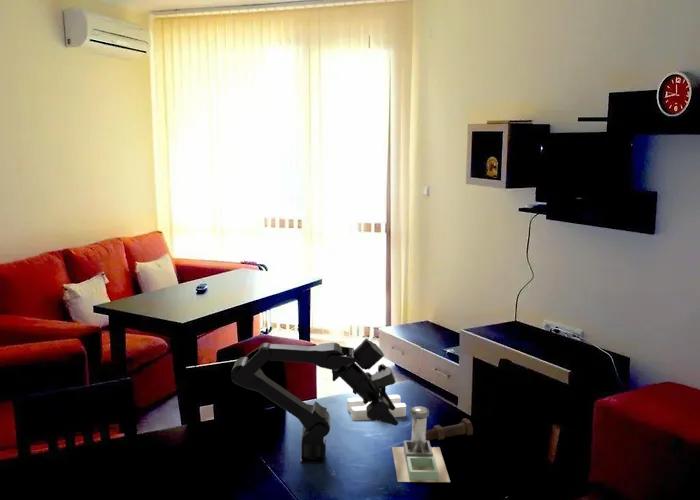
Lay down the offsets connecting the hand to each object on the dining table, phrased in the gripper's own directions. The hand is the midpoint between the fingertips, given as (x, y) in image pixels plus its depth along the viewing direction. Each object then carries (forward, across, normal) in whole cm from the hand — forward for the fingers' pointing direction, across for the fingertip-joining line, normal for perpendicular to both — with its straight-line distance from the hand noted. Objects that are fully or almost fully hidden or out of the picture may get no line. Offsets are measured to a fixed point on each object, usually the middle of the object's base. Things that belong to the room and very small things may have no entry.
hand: (395, 416), depth 178 cm
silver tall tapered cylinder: (+13, 0, +4) cm, 14 cm away
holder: (+14, 0, +4) cm, 14 cm away
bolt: (+22, +12, -3) cm, 25 cm away
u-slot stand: (+7, +29, +12) cm, 32 cm away
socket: (+14, -9, +4) cm, 17 cm away
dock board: (+14, -4, +4) cm, 15 cm away
